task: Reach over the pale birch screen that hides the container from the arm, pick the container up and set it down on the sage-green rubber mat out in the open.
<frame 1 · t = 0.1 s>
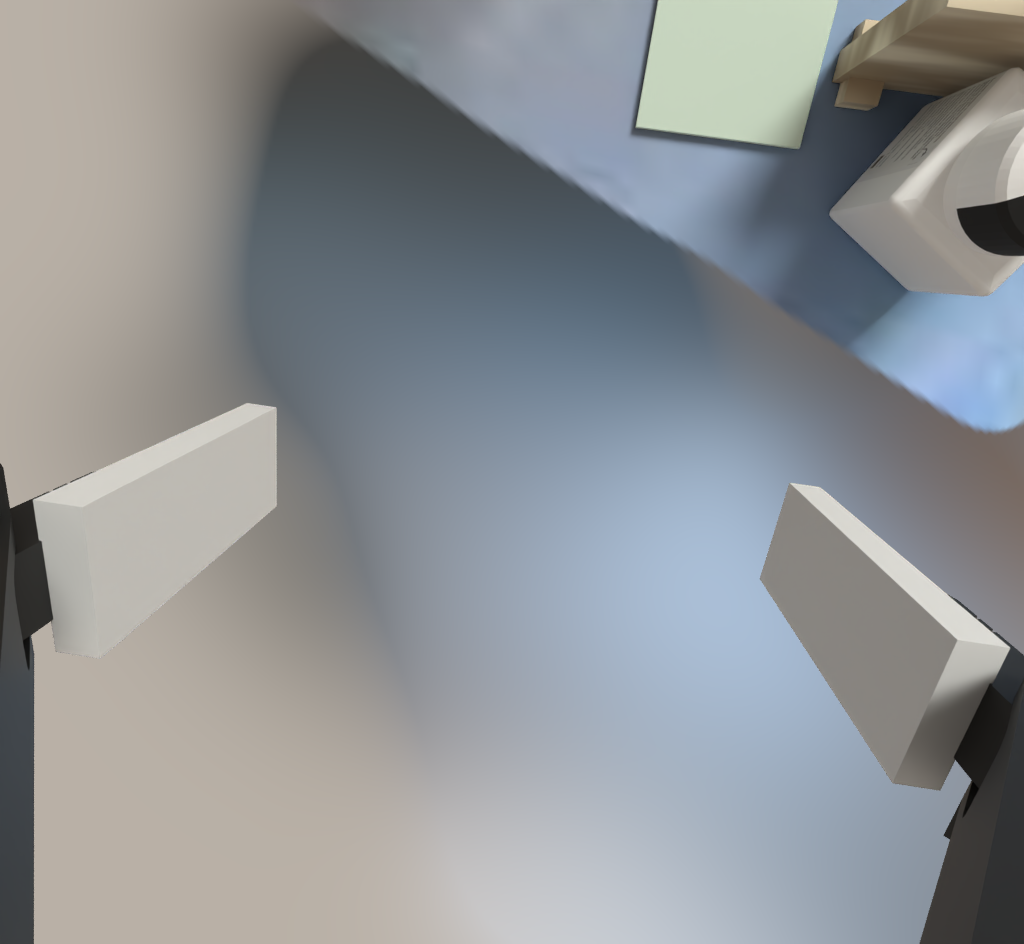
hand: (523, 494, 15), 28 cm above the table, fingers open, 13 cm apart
container: (914, 202, 37), on the table
mat: (736, 43, 35), on the table
screen: (955, 82, 35), on the table
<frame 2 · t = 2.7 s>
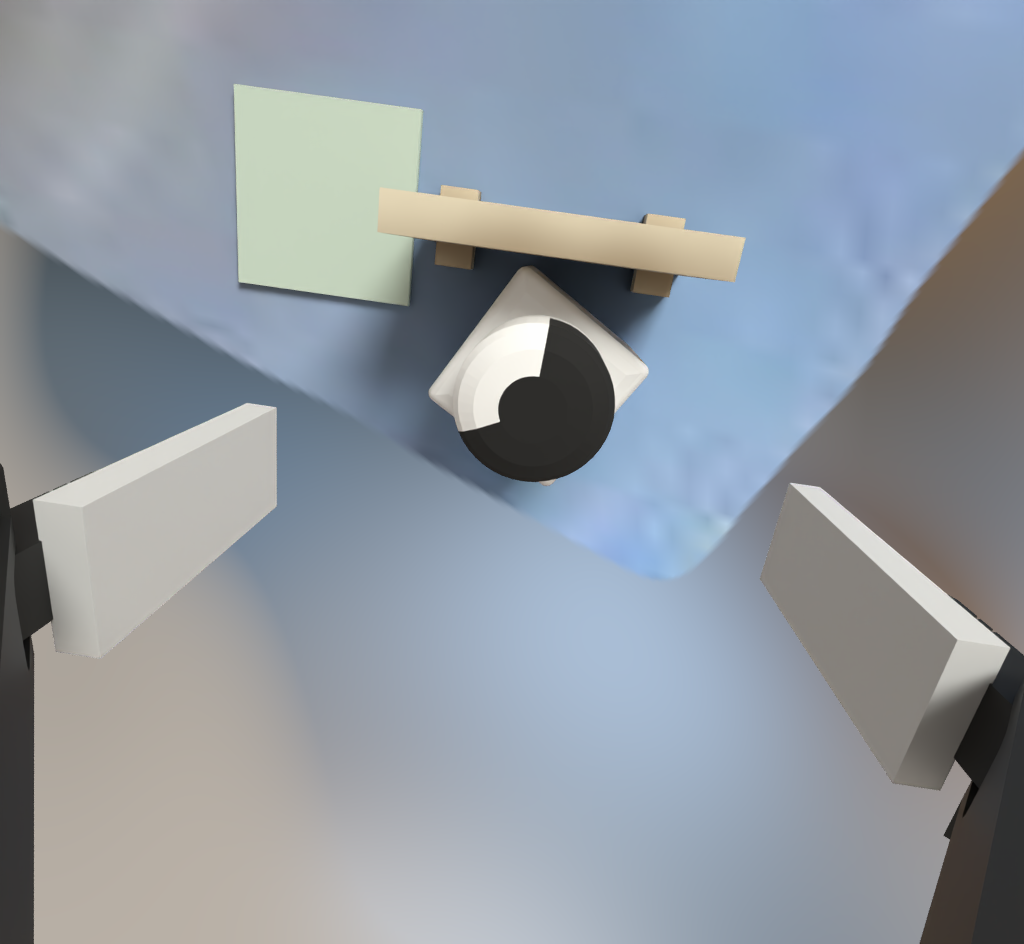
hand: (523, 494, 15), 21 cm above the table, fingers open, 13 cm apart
container: (540, 358, 36), on the table
mat: (327, 201, 33), on the table
screen: (557, 242, 33), on the table
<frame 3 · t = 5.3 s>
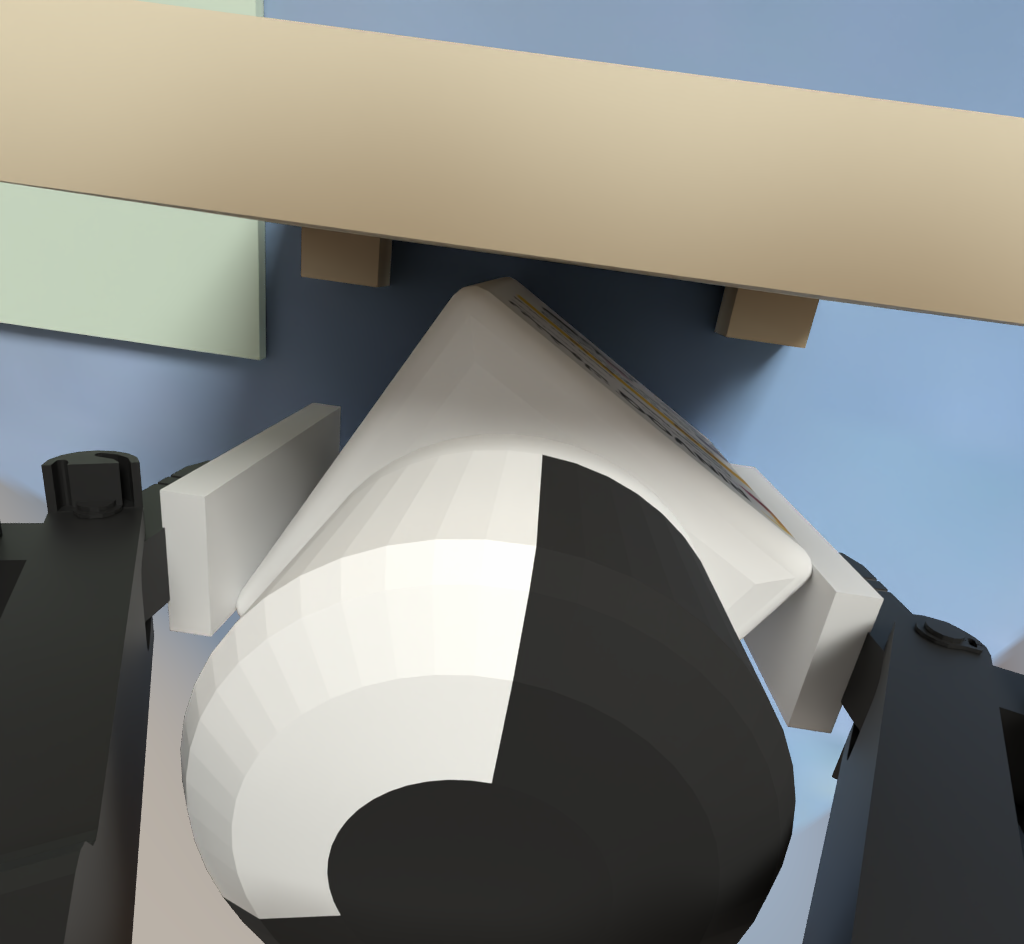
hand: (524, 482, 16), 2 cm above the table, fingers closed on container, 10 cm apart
container: (528, 459, 18), on the table, touching gripper
mat: (79, 143, 16), on the table
screen: (562, 230, 16), on the table
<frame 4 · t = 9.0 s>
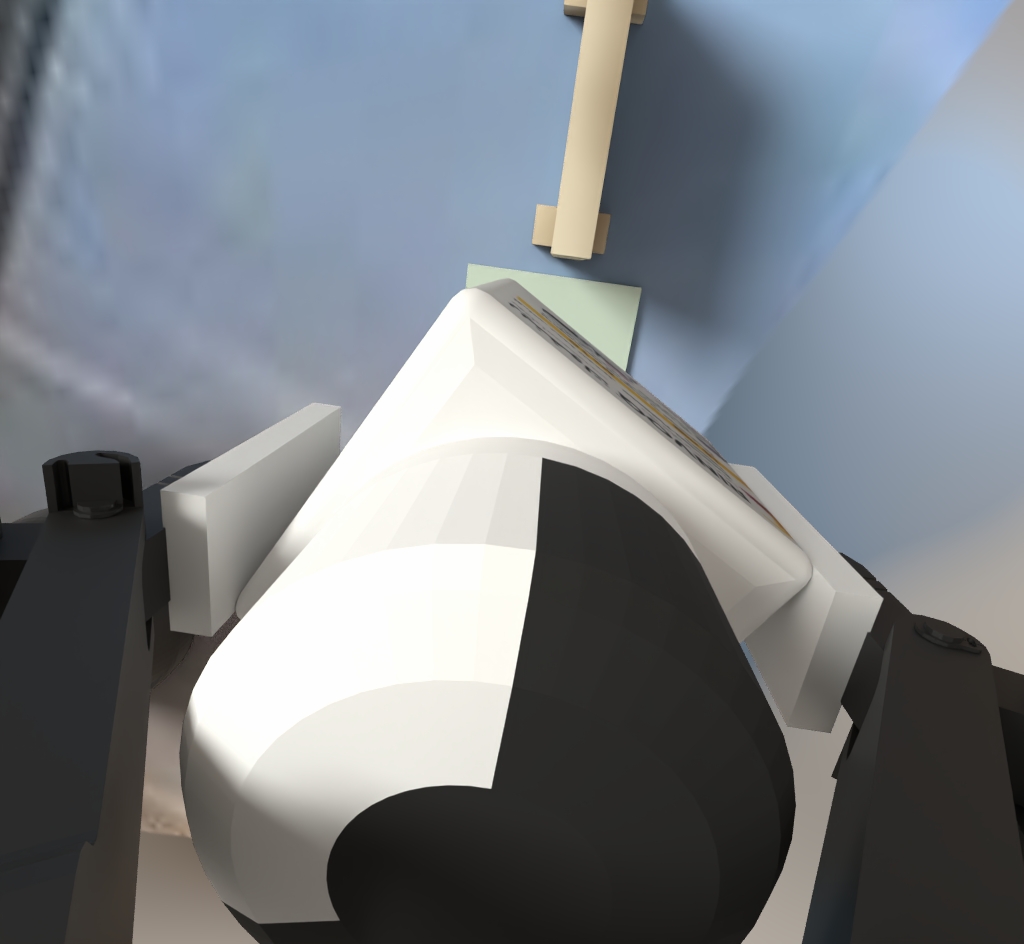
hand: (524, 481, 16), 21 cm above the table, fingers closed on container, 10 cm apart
container: (528, 460, 18), point 19 cm above the table, touching gripper
mat: (542, 361, 36), on the table
screen: (587, 119, 32), on the table
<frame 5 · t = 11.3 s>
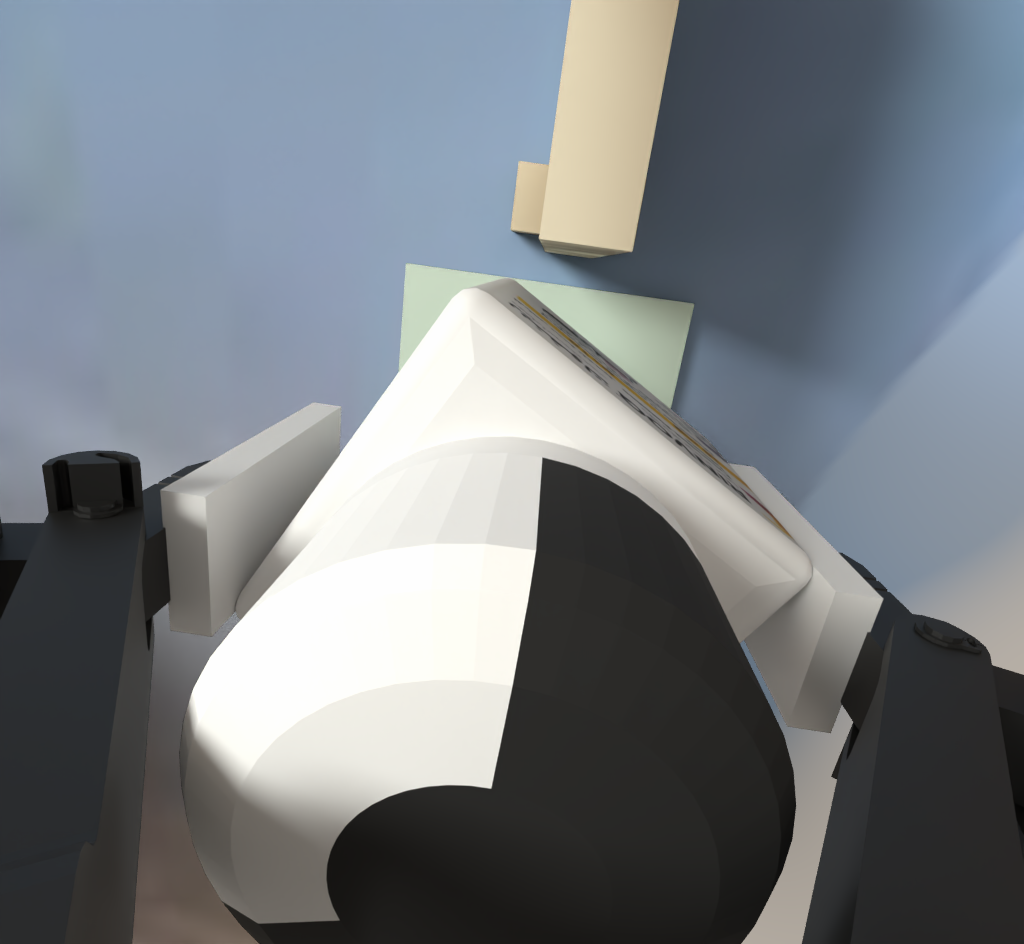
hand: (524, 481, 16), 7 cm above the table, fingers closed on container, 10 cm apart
container: (528, 460, 18), point 5 cm above the table, touching gripper
mat: (529, 420, 23), on the table
screen: (605, 12, 18), on the table
when the fingers open (4 cm above the table, at t = 13.0 s): container drops 2 cm, resting on mat.
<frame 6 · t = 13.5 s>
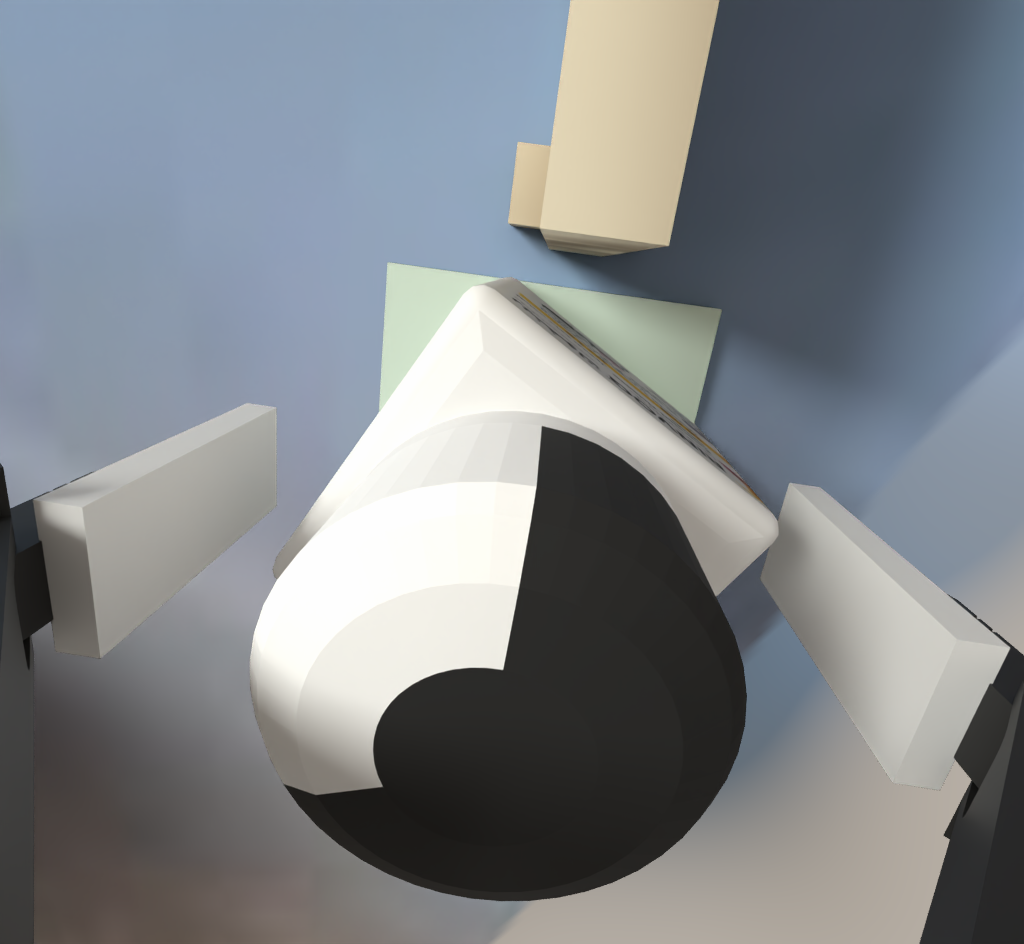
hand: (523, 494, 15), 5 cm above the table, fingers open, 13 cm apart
container: (529, 445, 20), resting on mat
mat: (530, 442, 20), on the table
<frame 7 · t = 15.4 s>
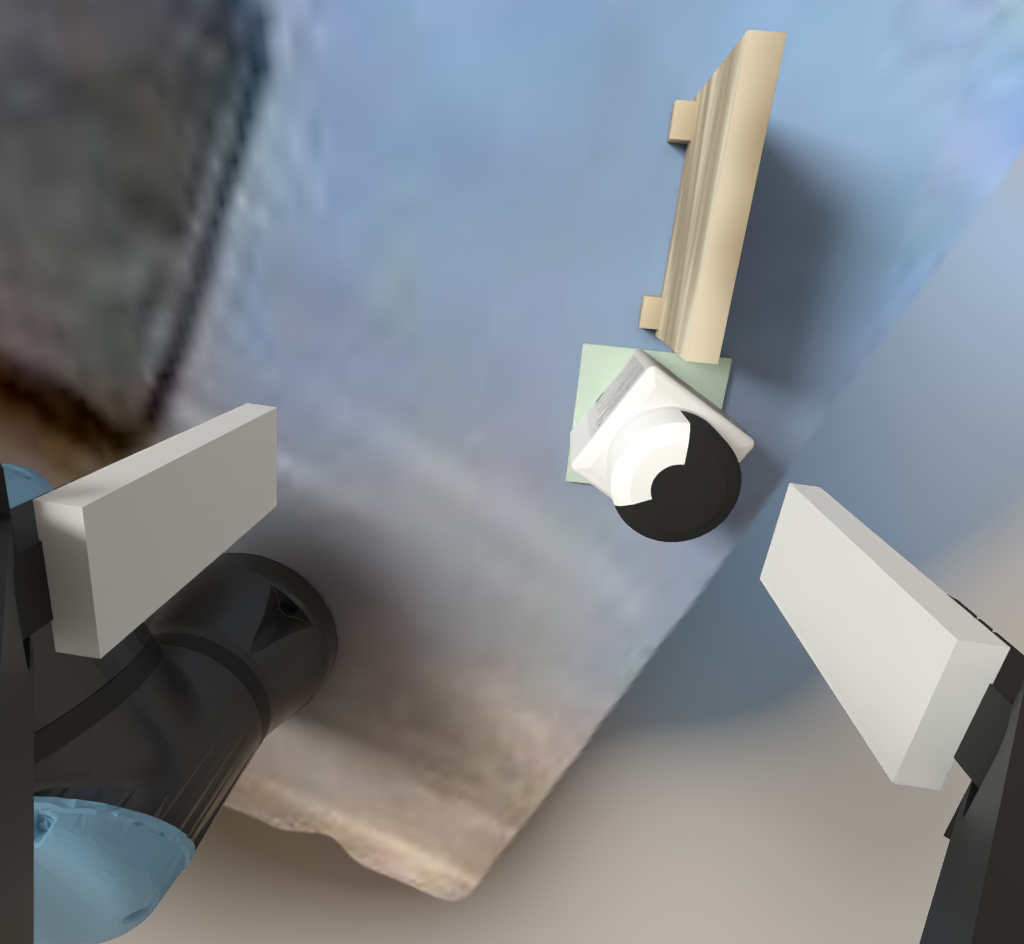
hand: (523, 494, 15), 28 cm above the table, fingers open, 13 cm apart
container: (644, 422, 42), resting on mat
mat: (644, 421, 42), on the table
screen: (686, 224, 38), on the table
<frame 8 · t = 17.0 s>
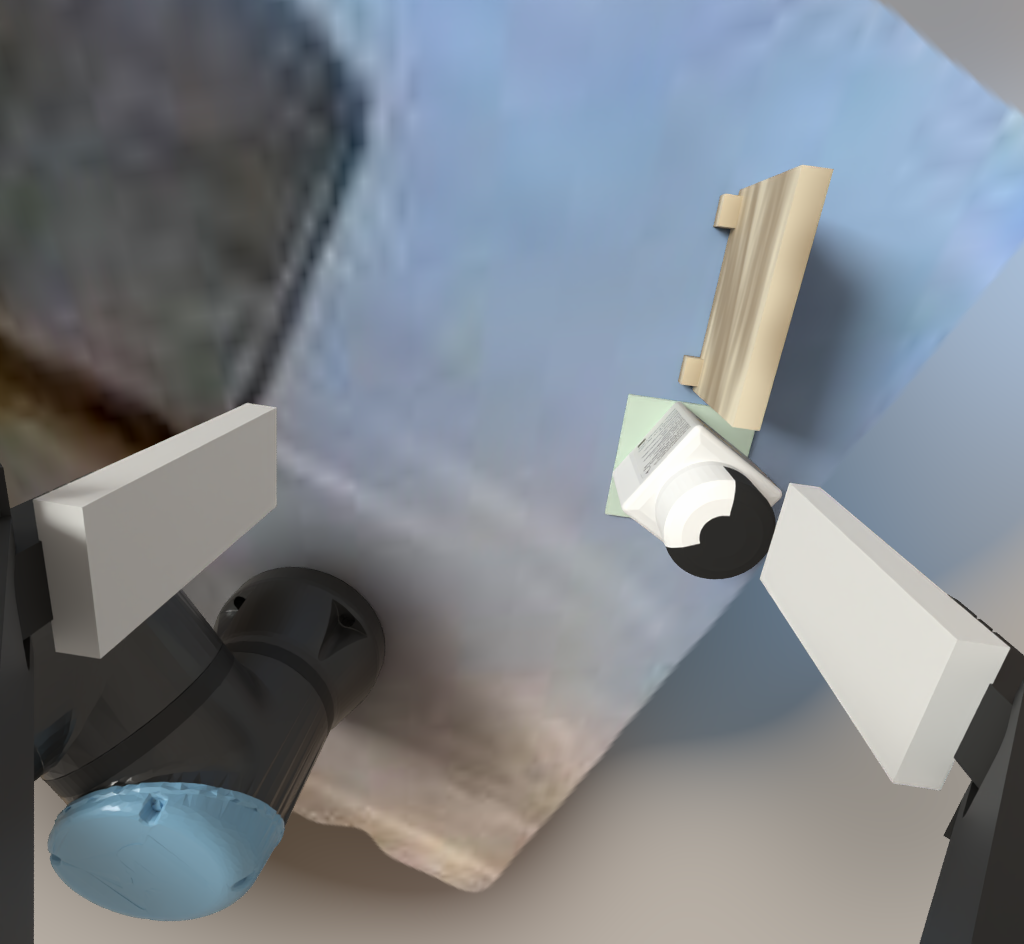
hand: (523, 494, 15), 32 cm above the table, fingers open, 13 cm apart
container: (678, 465, 47), resting on mat
mat: (678, 464, 48), on the table
screen: (725, 297, 43), on the table
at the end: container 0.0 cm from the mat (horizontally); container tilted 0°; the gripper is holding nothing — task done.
